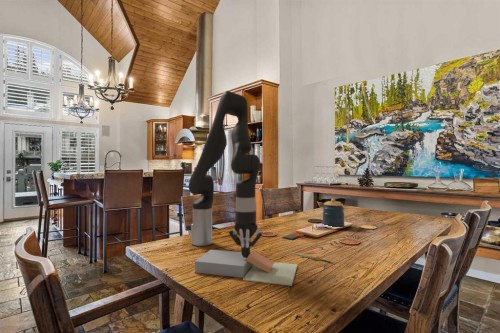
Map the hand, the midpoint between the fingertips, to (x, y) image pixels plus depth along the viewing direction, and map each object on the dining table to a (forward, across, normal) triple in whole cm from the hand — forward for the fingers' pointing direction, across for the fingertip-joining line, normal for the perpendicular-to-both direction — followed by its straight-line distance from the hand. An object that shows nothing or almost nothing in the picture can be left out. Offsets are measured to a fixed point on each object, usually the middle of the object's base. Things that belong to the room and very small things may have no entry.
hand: (245, 257), depth 101 cm
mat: (+5, +10, 0) cm, 11 cm away
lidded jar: (+5, +32, +80) cm, 87 cm away
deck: (+5, -8, 0) cm, 9 cm away
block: (+2, +5, +1) cm, 5 cm away
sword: (+5, +19, +21) cm, 29 cm away
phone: (+6, +12, +52) cm, 54 cm away
